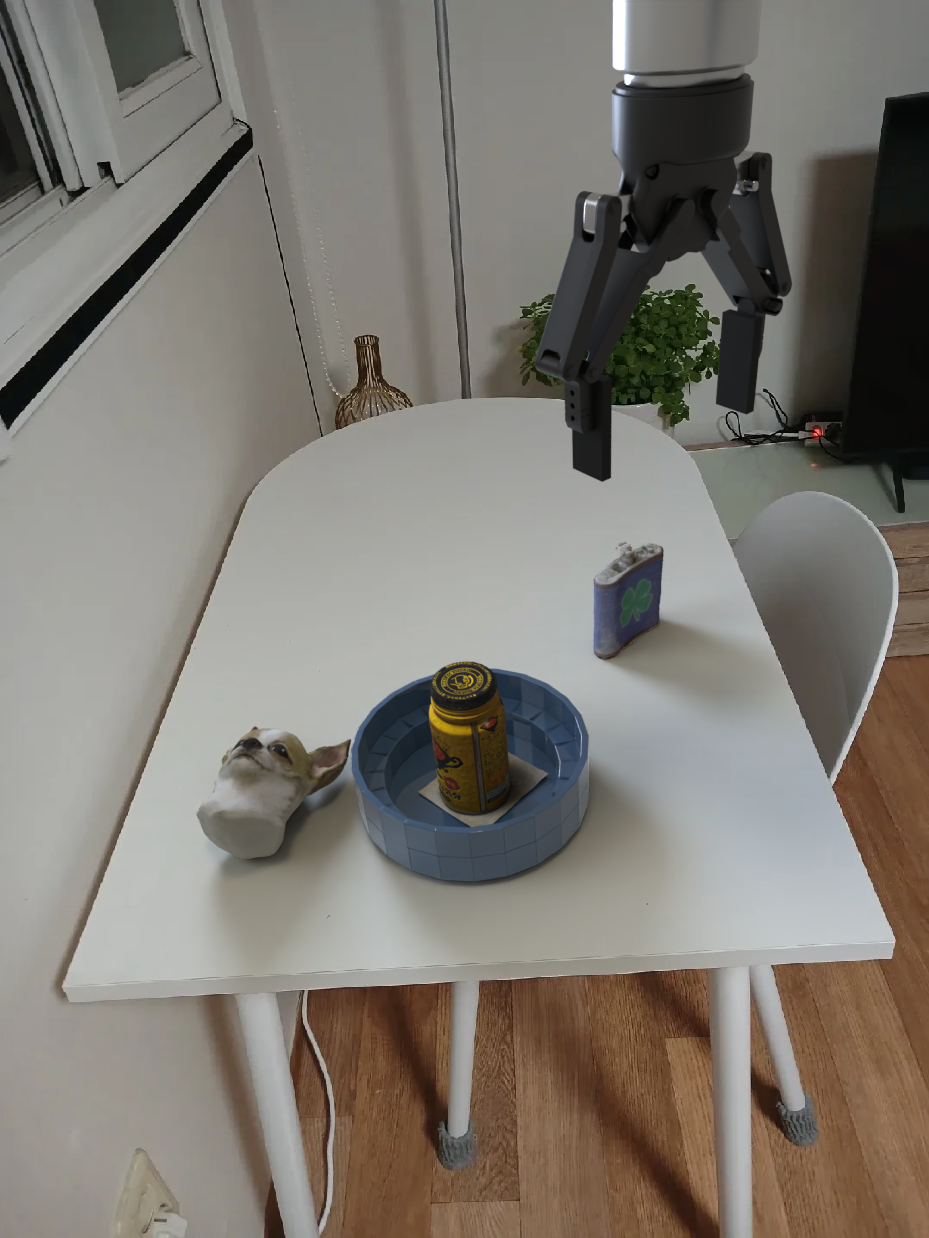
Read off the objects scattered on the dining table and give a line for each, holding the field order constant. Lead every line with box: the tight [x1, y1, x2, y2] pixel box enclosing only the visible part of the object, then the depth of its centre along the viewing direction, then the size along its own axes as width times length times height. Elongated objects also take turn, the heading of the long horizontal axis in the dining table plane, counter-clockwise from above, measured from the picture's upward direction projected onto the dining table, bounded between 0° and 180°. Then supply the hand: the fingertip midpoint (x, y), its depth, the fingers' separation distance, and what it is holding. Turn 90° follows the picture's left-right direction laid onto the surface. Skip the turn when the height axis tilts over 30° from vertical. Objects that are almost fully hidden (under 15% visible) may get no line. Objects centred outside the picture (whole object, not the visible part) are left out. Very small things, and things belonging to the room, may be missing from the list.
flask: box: [593, 541, 665, 660], centre depth 94 cm, size 9×3×11 cm, turn 133°
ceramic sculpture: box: [195, 725, 352, 860], centre depth 79 cm, size 11×9×15 cm
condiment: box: [418, 661, 549, 827], centre depth 77 cm, size 7×8×12 cm
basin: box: [350, 667, 590, 882], centre depth 79 cm, size 19×19×6 cm
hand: (666, 439), depth 63 cm, fingers open, 13 cm apart
